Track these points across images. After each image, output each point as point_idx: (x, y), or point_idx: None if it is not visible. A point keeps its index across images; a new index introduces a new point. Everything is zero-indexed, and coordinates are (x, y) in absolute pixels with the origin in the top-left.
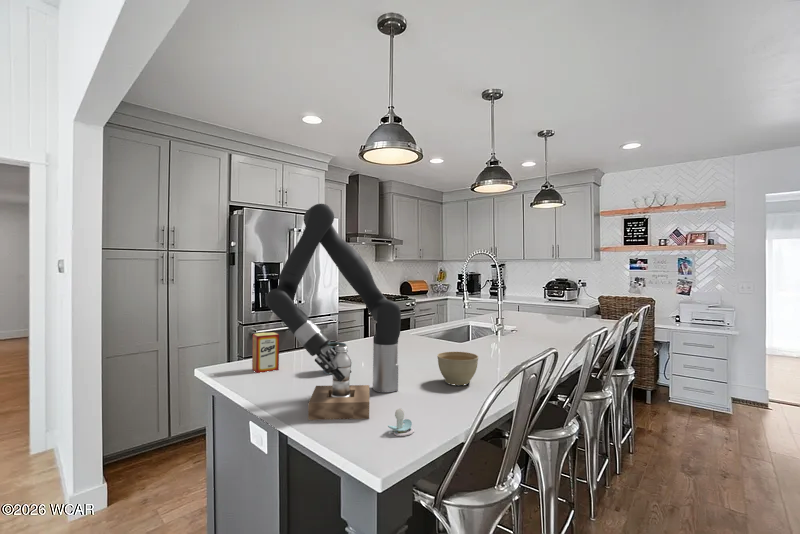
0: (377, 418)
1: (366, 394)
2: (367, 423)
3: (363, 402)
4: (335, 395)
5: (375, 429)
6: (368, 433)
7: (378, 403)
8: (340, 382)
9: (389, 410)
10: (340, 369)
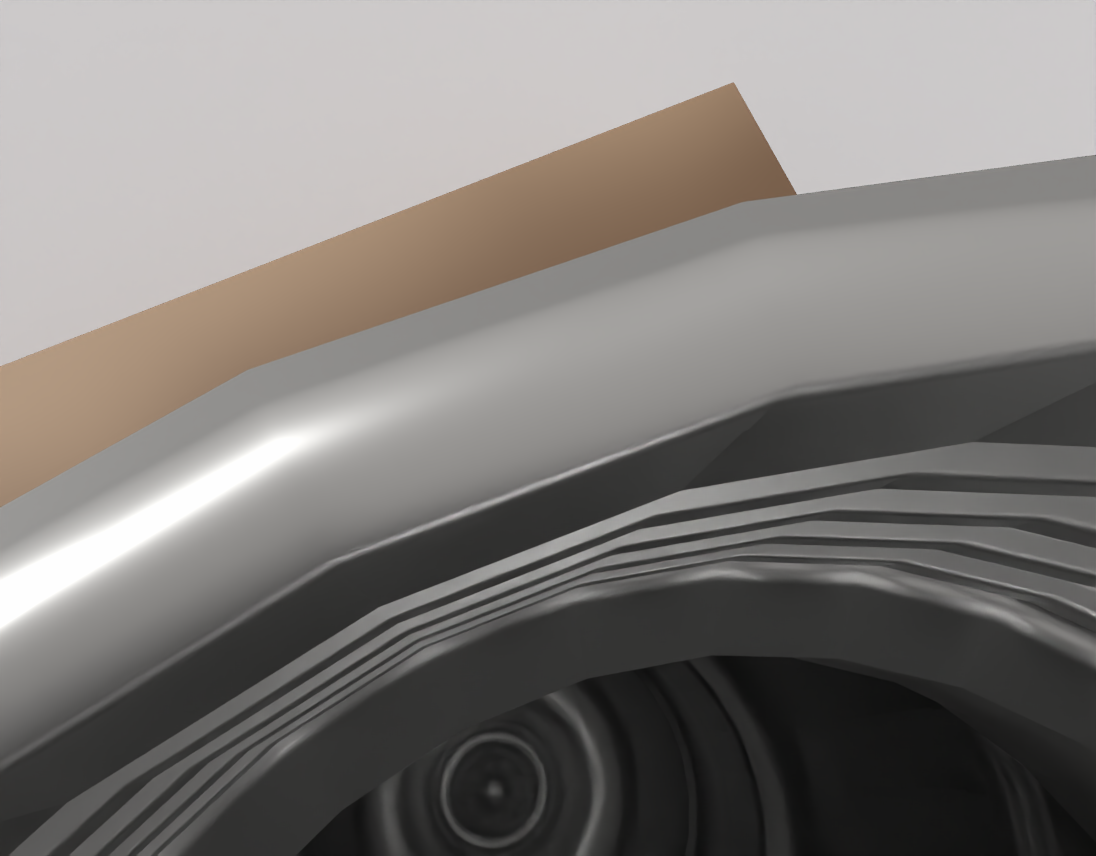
0: (615, 125)
1: (369, 281)
2: (818, 179)
3: (780, 170)
4: (696, 837)
5: (930, 34)
6: (1062, 66)
7: (33, 318)
8: (741, 734)
9: (278, 76)
10: (961, 722)
